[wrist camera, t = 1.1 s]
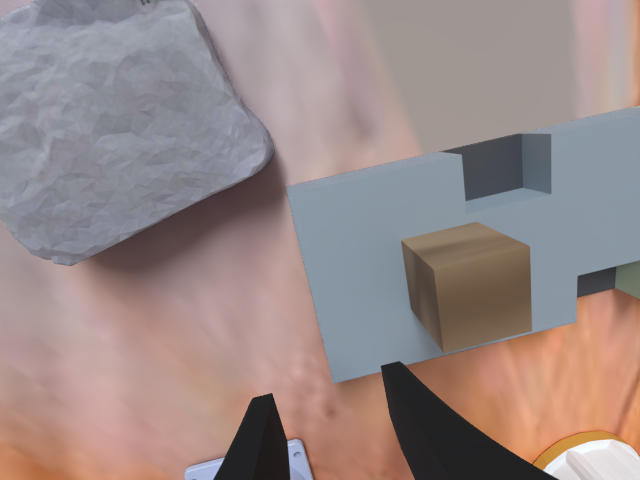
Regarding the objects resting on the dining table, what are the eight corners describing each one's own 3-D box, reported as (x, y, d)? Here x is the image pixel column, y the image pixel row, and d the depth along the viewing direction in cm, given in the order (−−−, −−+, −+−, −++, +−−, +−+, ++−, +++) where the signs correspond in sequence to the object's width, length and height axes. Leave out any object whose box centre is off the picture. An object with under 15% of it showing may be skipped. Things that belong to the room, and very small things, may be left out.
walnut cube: (481, 291, 19) (532, 330, 15) (410, 308, 19) (443, 353, 15) (476, 221, 18) (530, 246, 14) (400, 239, 18) (433, 269, 14)
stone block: (-14, 97, 18) (91, 269, 19) (-130, 59, 13) (20, 292, 14) (194, -12, 18) (287, 167, 19) (154, -91, 13) (281, 155, 14)
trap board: (327, 356, 22) (339, 410, 18) (286, 186, 19) (288, 203, 14) (675, 269, 23) (765, 301, 19) (696, 92, 20) (812, 81, 15)
